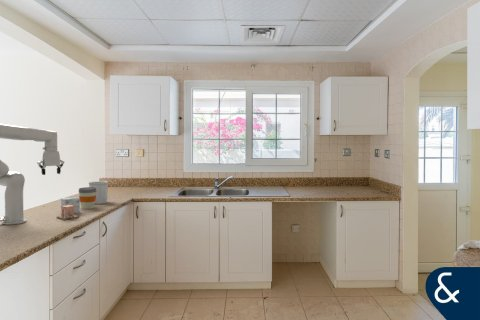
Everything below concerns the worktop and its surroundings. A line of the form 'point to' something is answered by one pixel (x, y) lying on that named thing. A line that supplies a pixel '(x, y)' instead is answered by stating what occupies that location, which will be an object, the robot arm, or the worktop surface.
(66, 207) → the pink notched block
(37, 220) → the worktop surface
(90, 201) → the reusable coffee cup
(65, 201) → the light bulb box
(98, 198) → the utensil holder
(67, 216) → the walnut board
